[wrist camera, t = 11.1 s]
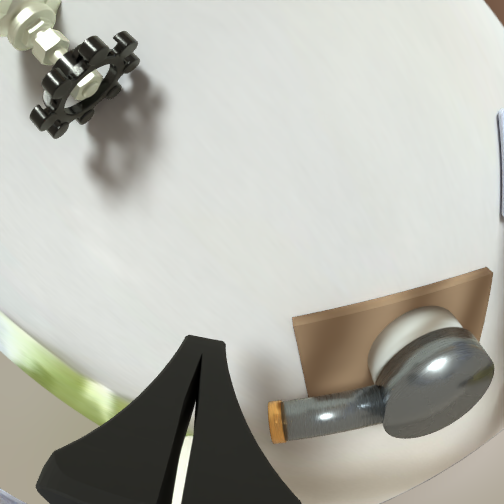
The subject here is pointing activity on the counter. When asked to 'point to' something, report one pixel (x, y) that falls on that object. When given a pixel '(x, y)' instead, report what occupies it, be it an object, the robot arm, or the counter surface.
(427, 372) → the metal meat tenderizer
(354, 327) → the thin wooden panel
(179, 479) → the pepper shaker
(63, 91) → the valve
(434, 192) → the counter surface
